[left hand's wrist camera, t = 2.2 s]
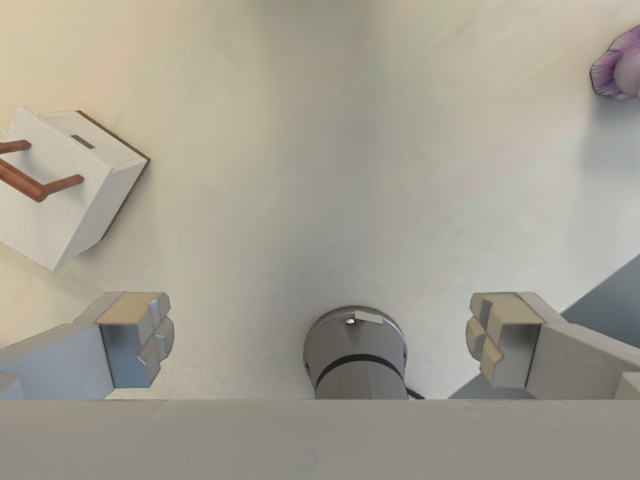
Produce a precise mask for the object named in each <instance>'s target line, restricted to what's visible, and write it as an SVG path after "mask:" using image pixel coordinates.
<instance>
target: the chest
mask: <svg viewBox="0 0 640 480" xmlns="http://www.w3.org/2000/svg"><path fill="white" fill-rule="evenodd" d="M38 115H39V116H41V117H42V118H44V119H45V120H47V121H48V122H50V123H51V124H53V125H54V126H56V127H57V128H59V129H60V130H62V131H63V132H65V133H66V134H68V135H69V136H71V137H72V138H74V139H75V140H77V141H78V142H80V143H81V144H83V145H84V146H86V147H87V148H89V149H90V150H92V151H93V152H95V153H96V154H98V155H99V156H101V157H102V158H104V159H105V160H107V161H108V162H110V163H111V164H113V165H114V166H115V169H114V171H113V172H112V174H111V176H110V178H109V180H108V181H107V183H106V185H105V187H104V188H103V190H102V192H101V194H100V195H99V197H98V199H97V201H96V202H95V204H94V206H93V208H92V209H91V211H90V213H89V215H88V216H87V218H86V220H85V222H84V223H83V225H82V227H81V229H80V230H79V232H78V234H77V236H76V237H75V239H74V241H73V243H72V244H71V246H70V248H69V250H68V251H67V253H66V255H65V257H64V259H63V260H62V262H61V264H60V266H59V267H61V266H62V265H64V264H65V263H67V262H68V261H70V260H71V259H73V258H74V257H76V256H78V255H79V254H81V253H82V252H84V251H85V250H87V249H88V248H90V247H91V246H93V245H94V244H96V243H97V242H99V241H101V240H102V239H103V238H104V237H105V235H106V233H107V232H108V230H109V228H110V227H111V225H112V223H113V222H114V220H115V218H116V217H117V215H118V213H119V212H120V210H121V208H122V207H123V205H124V203H125V202H126V200H127V198H128V197H129V195H130V193H131V192H132V190H133V188H134V186H135V185H136V183H137V181H138V180H139V178H140V176H141V175H142V173H143V171H144V170H145V168H146V166H147V165H148V163H149V161H150V160H151V159H149V158H148V157H147V156H145V155H144V154H142V153H141V152H139V151H138V150H136V149H135V148H133V147H132V146H131V145H129V144H128V143H126V142H125V141H123V140H122V139H120V138H119V137H117V136H116V135H115V134H113V133H112V132H110V131H109V130H107V129H106V128H104V127H103V126H101V125H100V124H99V123H97V122H96V121H94V120H93V119H91V118H90V117H88V116H87V115H85V114H84V113H83V112H81V111H73V112H56V113H38ZM59 267H58V268H59Z"/></svg>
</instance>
